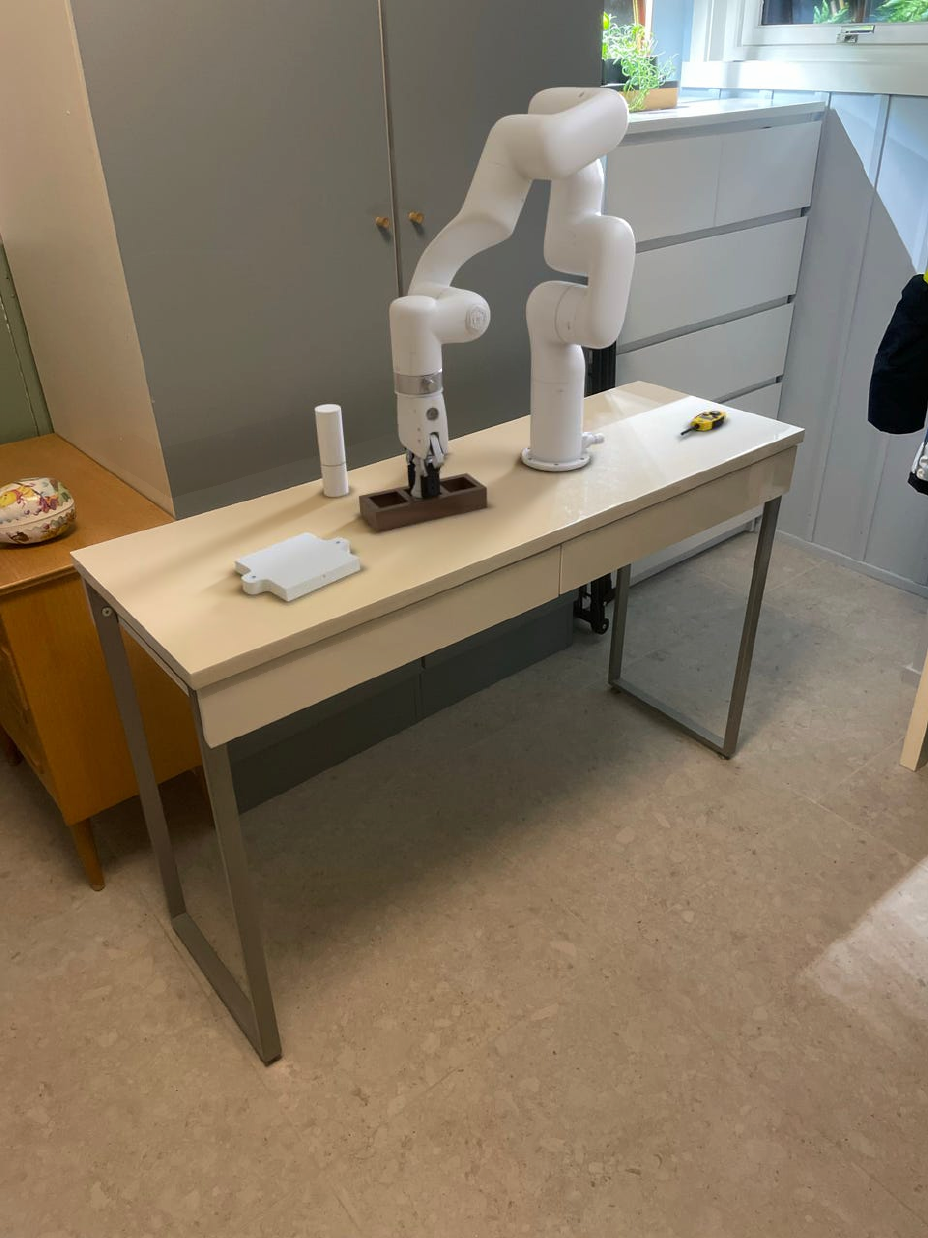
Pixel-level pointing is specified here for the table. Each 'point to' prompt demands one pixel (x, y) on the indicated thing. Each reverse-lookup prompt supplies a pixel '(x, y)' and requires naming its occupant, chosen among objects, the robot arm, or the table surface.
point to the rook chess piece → (418, 477)
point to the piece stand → (422, 503)
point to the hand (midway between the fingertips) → (424, 490)
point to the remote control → (707, 421)
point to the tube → (331, 450)
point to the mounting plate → (296, 566)
